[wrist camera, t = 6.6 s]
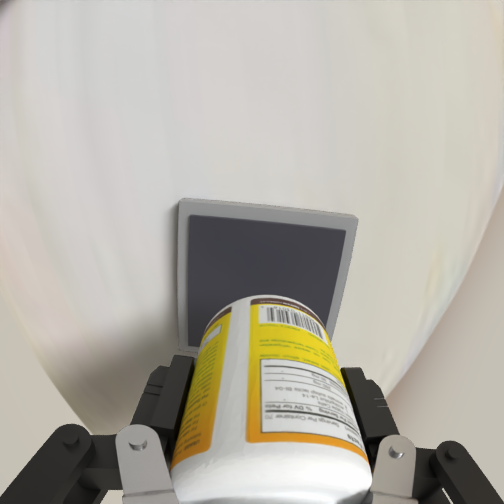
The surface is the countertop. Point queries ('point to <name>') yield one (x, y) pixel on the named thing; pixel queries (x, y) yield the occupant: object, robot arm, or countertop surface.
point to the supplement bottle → (268, 413)
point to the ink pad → (258, 260)
